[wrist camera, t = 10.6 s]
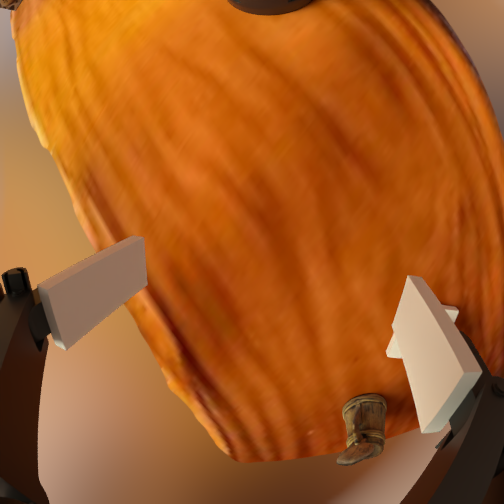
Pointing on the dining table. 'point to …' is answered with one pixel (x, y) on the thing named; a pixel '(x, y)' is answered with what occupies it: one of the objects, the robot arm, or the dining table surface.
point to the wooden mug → (363, 428)
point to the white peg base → (393, 345)
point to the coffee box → (10, 4)
